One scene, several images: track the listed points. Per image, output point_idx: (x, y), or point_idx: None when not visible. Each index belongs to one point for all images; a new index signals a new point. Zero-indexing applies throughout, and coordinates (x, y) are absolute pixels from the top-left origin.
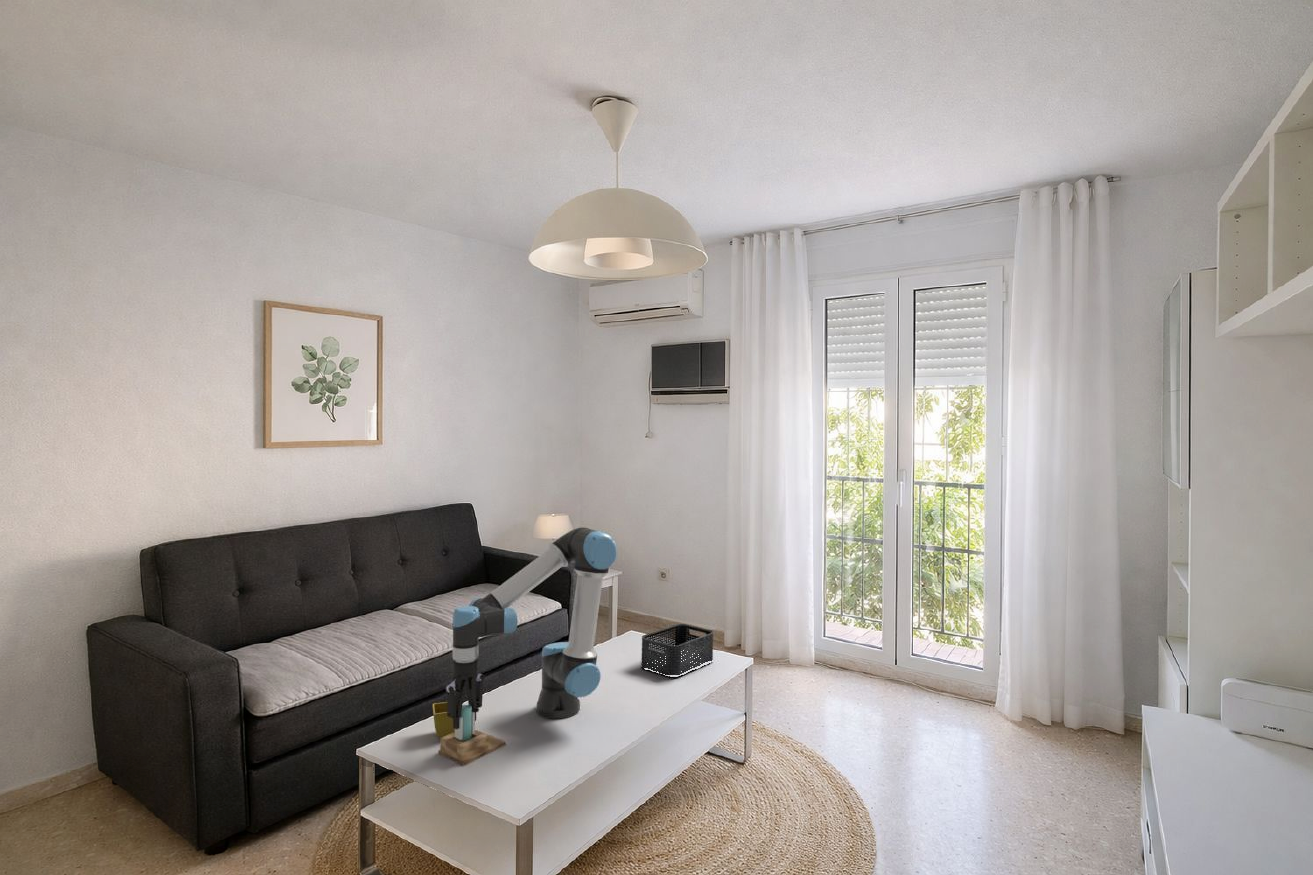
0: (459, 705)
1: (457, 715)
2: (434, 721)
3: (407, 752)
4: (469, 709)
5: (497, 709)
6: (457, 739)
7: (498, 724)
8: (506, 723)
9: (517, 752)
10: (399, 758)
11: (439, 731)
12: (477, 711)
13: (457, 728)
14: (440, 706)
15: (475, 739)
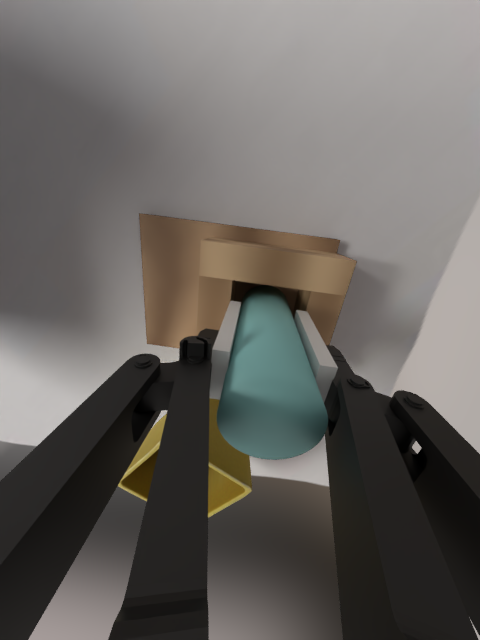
0: (403, 467)
1: (374, 395)
2: (249, 461)
3: None
4: (276, 375)
5: (27, 390)
6: None
7: (74, 333)
8: (52, 318)
9: (157, 115)
10: None
11: None
12: (196, 340)
13: (329, 346)
14: None
15: (264, 264)
